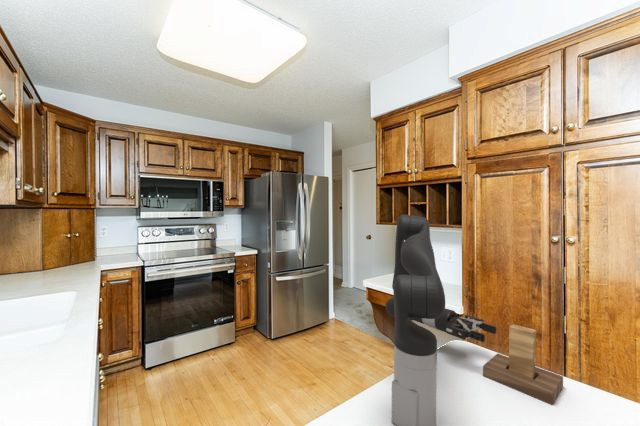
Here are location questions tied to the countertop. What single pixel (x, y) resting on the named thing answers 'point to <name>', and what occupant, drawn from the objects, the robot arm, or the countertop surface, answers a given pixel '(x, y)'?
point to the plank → (522, 350)
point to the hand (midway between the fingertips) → (490, 334)
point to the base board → (524, 379)
